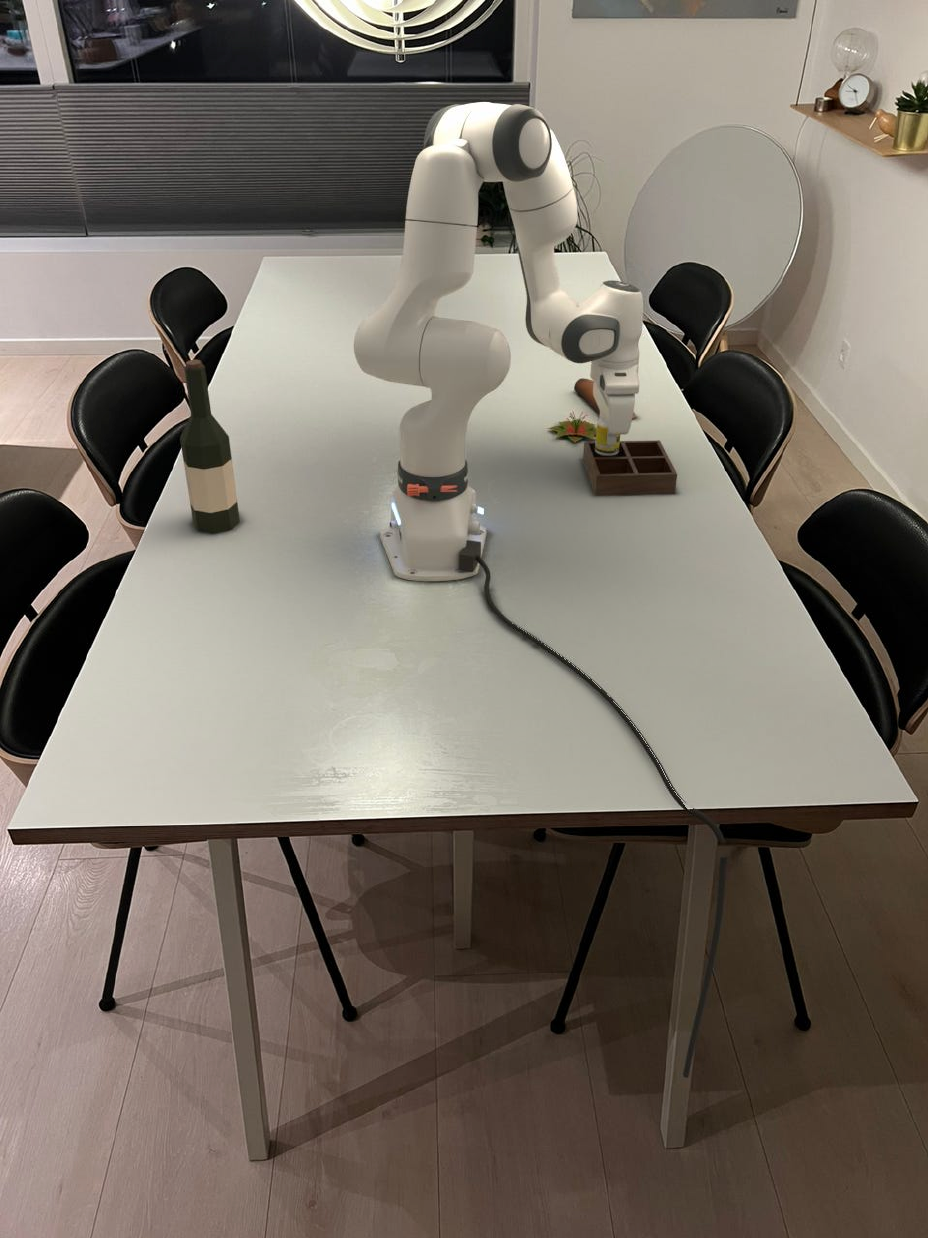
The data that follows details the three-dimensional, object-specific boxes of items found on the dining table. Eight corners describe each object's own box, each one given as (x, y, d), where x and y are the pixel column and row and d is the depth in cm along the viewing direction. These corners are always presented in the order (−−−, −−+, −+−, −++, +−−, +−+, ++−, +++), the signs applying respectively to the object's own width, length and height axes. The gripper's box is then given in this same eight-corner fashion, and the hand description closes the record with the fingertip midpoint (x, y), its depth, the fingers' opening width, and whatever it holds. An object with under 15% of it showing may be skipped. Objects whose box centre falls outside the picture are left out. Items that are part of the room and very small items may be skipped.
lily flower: (578, 417, 230) (579, 397, 227) (616, 436, 222) (618, 415, 219) (536, 430, 224) (537, 410, 221) (573, 450, 216) (575, 429, 213)
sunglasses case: (639, 416, 229) (628, 393, 225) (613, 434, 230) (600, 412, 226) (606, 387, 243) (595, 364, 239) (581, 404, 244) (569, 382, 240)
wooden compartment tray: (675, 493, 200) (677, 474, 197) (595, 495, 199) (596, 475, 197) (657, 458, 212) (659, 440, 210) (582, 460, 212) (584, 441, 209)
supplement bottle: (617, 457, 204) (621, 417, 200) (593, 455, 205) (597, 415, 200) (619, 447, 208) (623, 407, 204) (595, 445, 209) (599, 405, 204)
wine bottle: (196, 512, 192) (172, 353, 175) (242, 510, 193) (222, 352, 176) (189, 534, 185) (163, 371, 169) (237, 533, 186) (216, 370, 169)
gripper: (588, 350, 206) (583, 415, 213) (607, 389, 189) (601, 459, 196) (620, 349, 206) (614, 415, 214) (641, 388, 189) (634, 458, 197)
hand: (607, 436), depth 205 cm, fingers closed on supplement bottle, 5 cm apart
